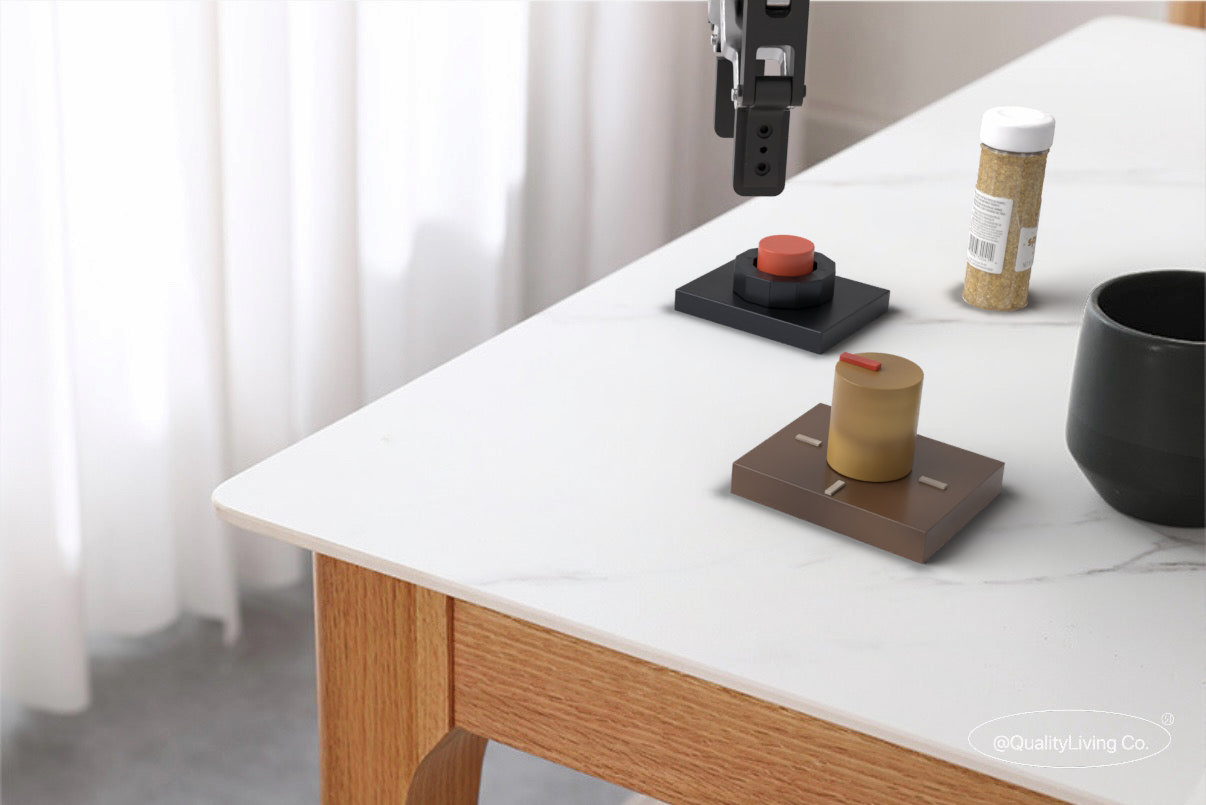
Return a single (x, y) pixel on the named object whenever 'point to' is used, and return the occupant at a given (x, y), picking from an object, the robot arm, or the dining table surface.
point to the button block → (784, 302)
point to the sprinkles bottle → (1007, 206)
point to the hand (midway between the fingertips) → (746, 163)
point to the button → (785, 255)
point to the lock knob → (874, 416)
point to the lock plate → (869, 488)
